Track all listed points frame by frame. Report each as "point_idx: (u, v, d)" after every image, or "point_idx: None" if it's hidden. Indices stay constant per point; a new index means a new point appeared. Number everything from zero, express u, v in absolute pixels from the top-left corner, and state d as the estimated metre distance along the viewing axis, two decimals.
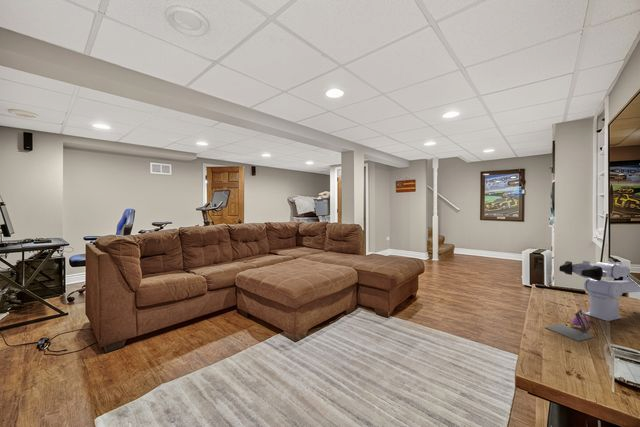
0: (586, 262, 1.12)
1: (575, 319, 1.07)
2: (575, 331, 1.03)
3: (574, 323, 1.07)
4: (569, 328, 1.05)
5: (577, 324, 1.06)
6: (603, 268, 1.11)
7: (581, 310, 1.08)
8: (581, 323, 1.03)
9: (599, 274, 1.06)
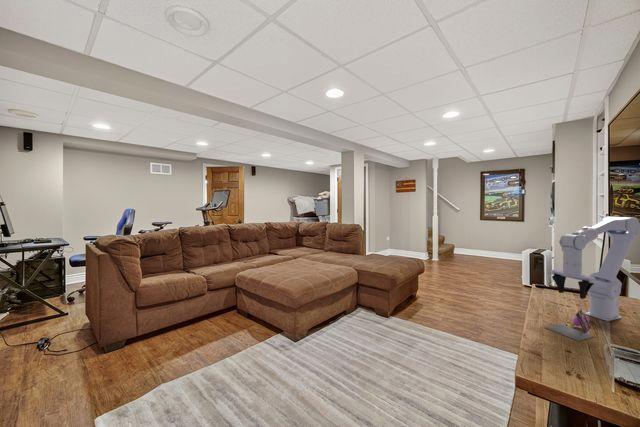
0: (567, 276, 1.12)
1: (575, 319, 1.07)
2: (575, 331, 1.03)
3: (574, 323, 1.06)
4: (569, 328, 1.05)
5: (577, 324, 1.06)
6: (576, 261, 1.10)
7: (581, 310, 1.08)
8: (581, 323, 1.03)
9: None
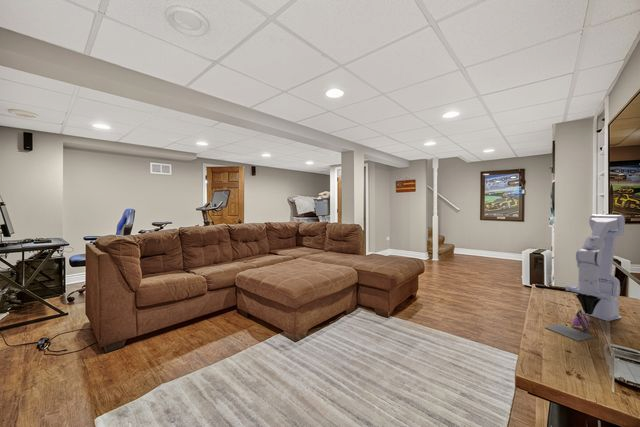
0: (583, 293, 1.06)
1: (575, 319, 1.07)
2: (575, 331, 1.03)
3: (575, 323, 1.06)
4: (569, 328, 1.05)
5: (578, 324, 1.06)
6: (596, 278, 1.04)
7: (581, 310, 1.08)
8: (582, 323, 1.03)
9: None
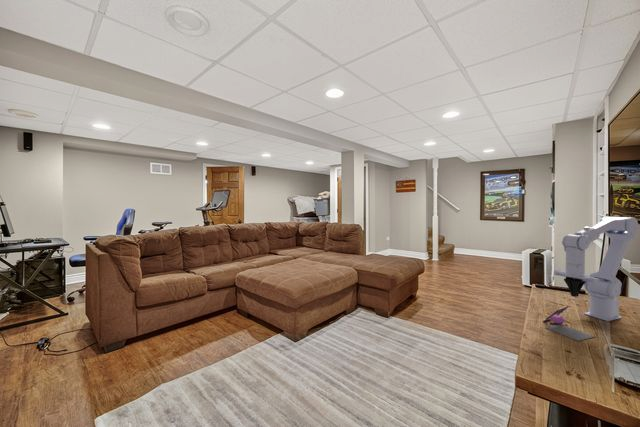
0: (569, 276, 1.11)
1: (559, 319, 1.09)
2: (575, 331, 1.03)
3: (563, 319, 1.09)
4: (569, 328, 1.05)
5: (562, 317, 1.09)
6: (579, 261, 1.09)
7: (544, 320, 1.12)
8: (560, 310, 1.09)
9: None
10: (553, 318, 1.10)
